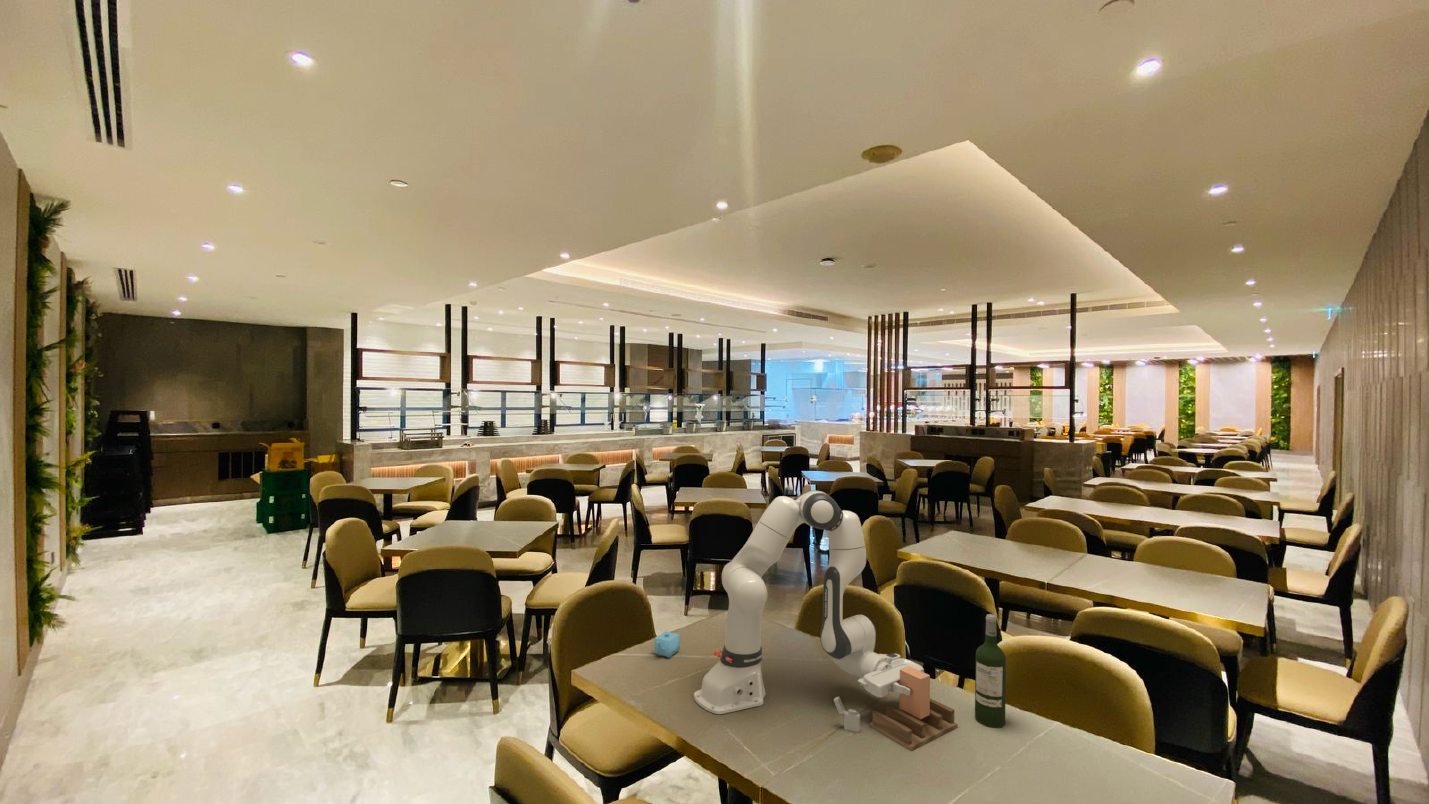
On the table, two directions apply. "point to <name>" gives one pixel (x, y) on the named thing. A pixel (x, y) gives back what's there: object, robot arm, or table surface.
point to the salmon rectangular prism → (915, 692)
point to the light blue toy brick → (667, 644)
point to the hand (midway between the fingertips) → (917, 689)
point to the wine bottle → (990, 679)
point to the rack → (914, 725)
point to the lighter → (848, 716)
